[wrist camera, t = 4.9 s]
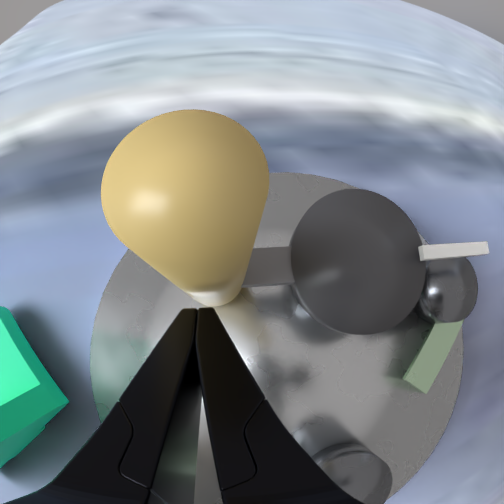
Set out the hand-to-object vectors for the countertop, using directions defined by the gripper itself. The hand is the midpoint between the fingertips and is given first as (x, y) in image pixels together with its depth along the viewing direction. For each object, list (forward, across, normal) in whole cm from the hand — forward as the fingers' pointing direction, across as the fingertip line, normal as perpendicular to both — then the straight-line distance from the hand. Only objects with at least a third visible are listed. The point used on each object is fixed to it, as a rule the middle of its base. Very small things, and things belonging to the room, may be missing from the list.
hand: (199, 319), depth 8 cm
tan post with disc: (+7, -7, +4) cm, 10 cm away
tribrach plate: (+4, -4, +8) cm, 10 cm away
